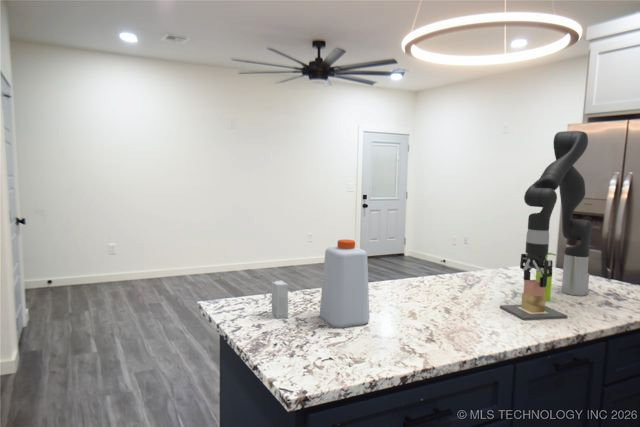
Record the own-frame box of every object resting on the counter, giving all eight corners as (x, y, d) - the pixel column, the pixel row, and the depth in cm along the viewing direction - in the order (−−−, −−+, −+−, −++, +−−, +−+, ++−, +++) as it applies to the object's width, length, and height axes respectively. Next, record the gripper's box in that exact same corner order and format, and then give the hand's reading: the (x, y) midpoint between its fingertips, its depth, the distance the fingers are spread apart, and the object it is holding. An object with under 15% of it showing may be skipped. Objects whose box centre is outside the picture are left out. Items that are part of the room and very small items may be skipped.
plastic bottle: (315, 315, 148) (317, 238, 146) (353, 310, 154) (355, 236, 152) (333, 330, 134) (335, 245, 132) (374, 324, 140) (376, 243, 138)
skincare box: (288, 317, 145) (289, 284, 144) (276, 319, 143) (277, 285, 142) (282, 312, 151) (282, 279, 150) (270, 313, 149) (271, 281, 148)
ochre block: (533, 307, 159) (535, 292, 159) (544, 312, 154) (545, 296, 153) (521, 308, 158) (522, 292, 158) (531, 312, 153) (532, 296, 152)
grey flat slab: (540, 306, 165) (540, 303, 165) (567, 318, 151) (567, 315, 151) (499, 307, 161) (499, 305, 161) (523, 320, 148) (523, 317, 147)
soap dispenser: (554, 302, 170) (558, 254, 169) (536, 300, 172) (540, 253, 170) (549, 298, 176) (553, 252, 174) (532, 296, 178) (535, 251, 176)
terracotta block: (535, 292, 158) (536, 279, 158) (544, 296, 153) (545, 283, 153) (523, 292, 157) (524, 280, 157) (532, 296, 152) (533, 283, 152)
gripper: (560, 244, 147) (557, 289, 149) (533, 238, 161) (530, 279, 163) (542, 245, 146) (539, 289, 147) (515, 238, 160) (513, 279, 161)
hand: (534, 284), depth 155 cm, fingers open, 8 cm apart
